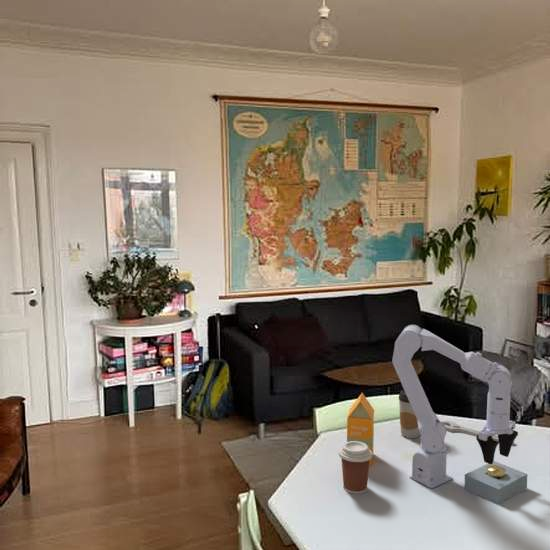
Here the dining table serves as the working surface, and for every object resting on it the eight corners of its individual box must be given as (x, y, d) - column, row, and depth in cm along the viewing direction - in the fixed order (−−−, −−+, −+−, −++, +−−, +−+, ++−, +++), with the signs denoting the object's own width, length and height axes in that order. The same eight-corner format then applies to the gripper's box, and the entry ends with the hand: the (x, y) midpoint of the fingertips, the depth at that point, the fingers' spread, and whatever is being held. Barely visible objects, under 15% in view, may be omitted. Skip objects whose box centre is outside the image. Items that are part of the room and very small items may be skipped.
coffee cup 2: (425, 433, 181) (426, 391, 179) (418, 441, 174) (419, 398, 172) (402, 428, 185) (403, 387, 184) (394, 436, 178) (395, 394, 177)
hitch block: (498, 504, 135) (498, 489, 134) (464, 488, 143) (464, 474, 142) (526, 488, 143) (527, 474, 142) (493, 474, 151) (493, 460, 150)
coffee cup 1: (377, 485, 145) (377, 444, 144) (363, 499, 137) (363, 456, 136) (347, 476, 150) (347, 436, 149) (332, 490, 142) (332, 448, 141)
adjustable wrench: (515, 445, 172) (515, 440, 172) (507, 451, 167) (507, 445, 167) (445, 424, 190) (445, 419, 190) (436, 429, 185) (436, 424, 185)
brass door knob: (497, 494, 140) (498, 474, 139) (482, 486, 144) (482, 467, 143) (508, 489, 142) (509, 470, 142) (492, 482, 146) (493, 463, 146)
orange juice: (346, 463, 158) (346, 400, 156) (349, 451, 166) (349, 391, 165) (372, 466, 156) (373, 402, 154) (374, 454, 165) (374, 392, 163)
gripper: (496, 421, 133) (494, 472, 135) (526, 409, 142) (524, 457, 143) (472, 413, 139) (470, 462, 140) (502, 402, 147) (500, 448, 149)
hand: (496, 459), depth 142 cm, fingers open, 7 cm apart
